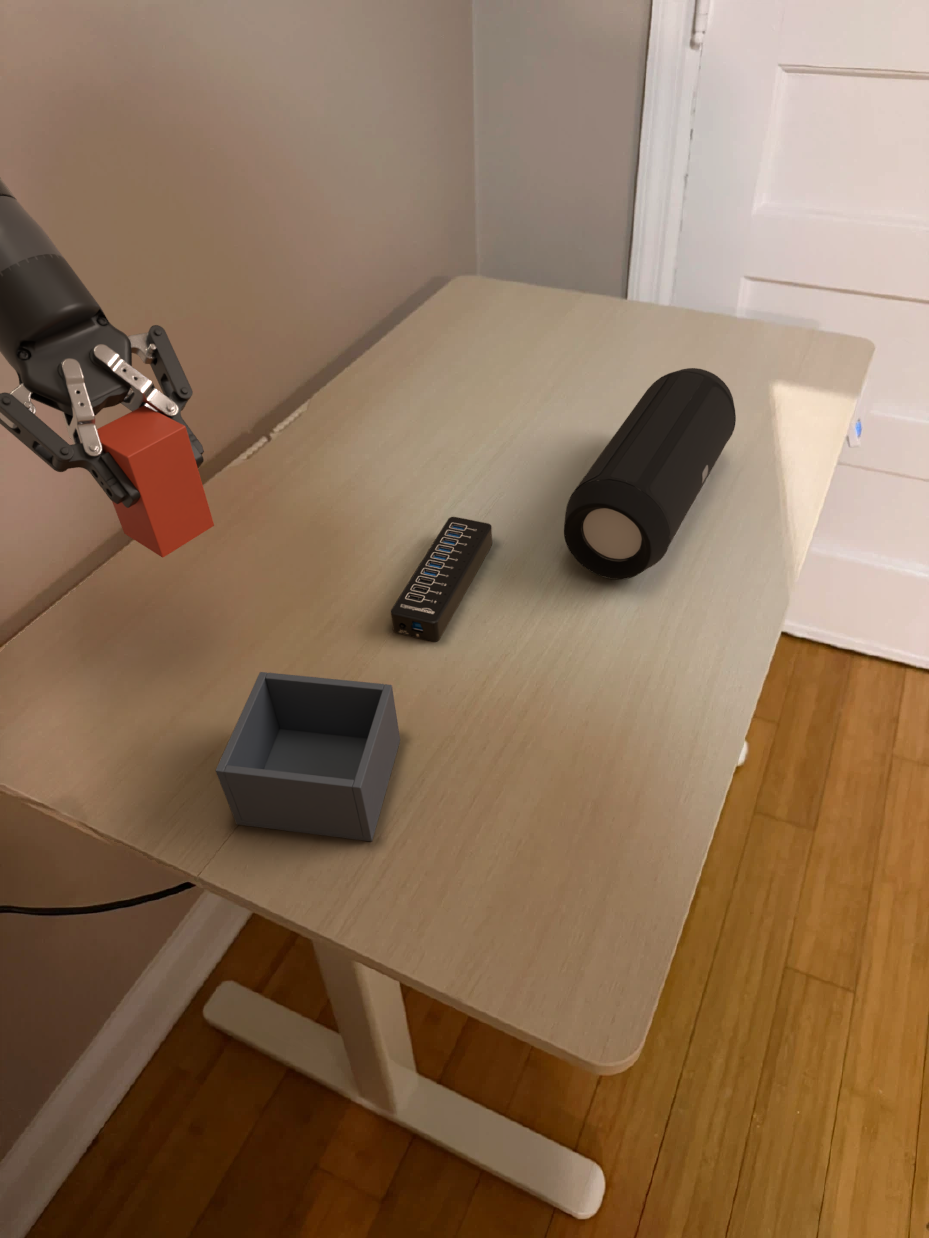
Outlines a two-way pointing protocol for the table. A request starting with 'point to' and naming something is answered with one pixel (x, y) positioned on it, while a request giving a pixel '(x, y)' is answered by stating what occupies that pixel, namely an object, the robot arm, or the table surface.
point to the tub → (311, 755)
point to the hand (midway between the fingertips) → (166, 483)
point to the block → (158, 480)
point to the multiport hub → (442, 579)
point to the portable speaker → (649, 474)
